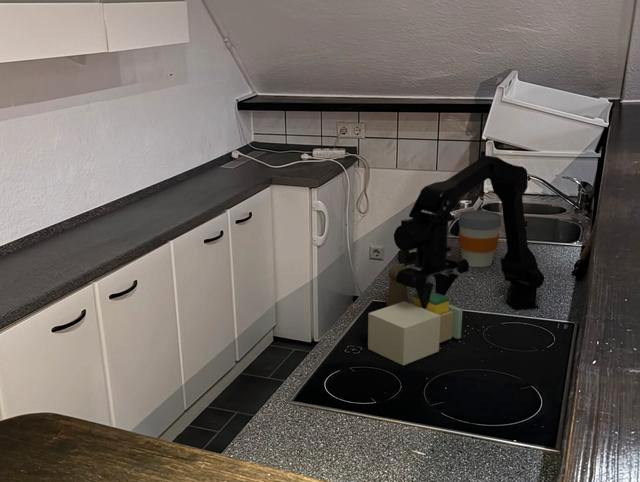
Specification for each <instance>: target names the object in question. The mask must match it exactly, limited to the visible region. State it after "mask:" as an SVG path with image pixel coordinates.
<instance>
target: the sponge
mask: <svg viewBox="0 0 640 482" xmlns="http://www.w3.org/2000/svg"><path fill="white" fill-rule="evenodd" d="M413 305H415V306H418V307H420V308H422V306H421V303H420V300H419V297H418V294H417V292H415V293H413ZM449 305H450V297H449V296H447V295H445V296H444V295H441V294H438V293H436V291H433V290H432V291H431V295H430V299H429V302H428V305H427V308H423V309H426V310H428V311H431V312H433V313H436V314H442V313H445V312H448V311H449Z"/></svg>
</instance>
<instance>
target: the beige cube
mask: <svg viewBox="0 0 640 482" xmlns="http://www.w3.org/2000/svg"><path fill="white" fill-rule="evenodd" d="M367 316H368V317H367V318H368V319H367V350H368V351H369V350H370V351H372V352H374V353H376V354H378V355H380V356H382V357H384V358H386V359H388V360H391V361H393V362H394V363H397V364H399V365H402V366H407V365H408V364H411V363H413V362H415V361H419V360H421V359H424V358H426V357H428V356H430V355H433V354H436V353H438V352H440V343H439V338H440V318H441V315H439V314H436V313H433V312H431V311H428V310H426V309H423V308H420V307H418V306H415V305H414V304H412V303H410V302H409V303H407V302H405V301H404V302H401V303H398V304H395V305H392V306H389V307H387V306H386V307H383V308H379V309H376V310H374V311H371V312H368V315H367Z"/></svg>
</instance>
